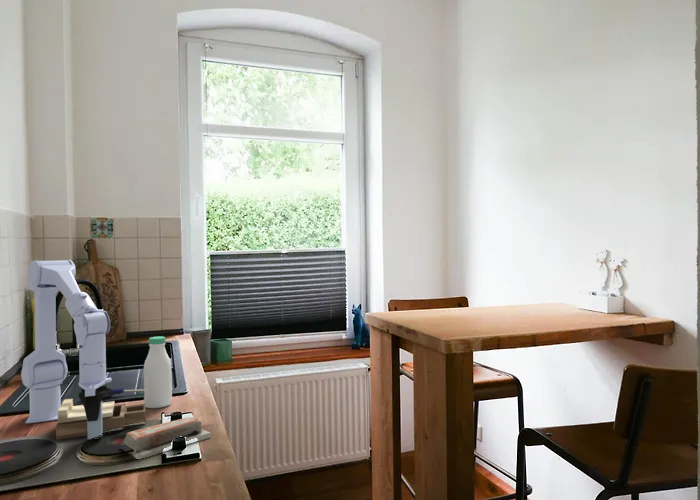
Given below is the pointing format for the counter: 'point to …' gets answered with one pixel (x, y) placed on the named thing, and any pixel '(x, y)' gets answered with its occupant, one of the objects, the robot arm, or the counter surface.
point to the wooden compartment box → (103, 421)
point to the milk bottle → (157, 375)
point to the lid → (80, 411)
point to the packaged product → (163, 436)
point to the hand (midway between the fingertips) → (93, 418)
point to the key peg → (95, 426)
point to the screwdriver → (117, 391)
